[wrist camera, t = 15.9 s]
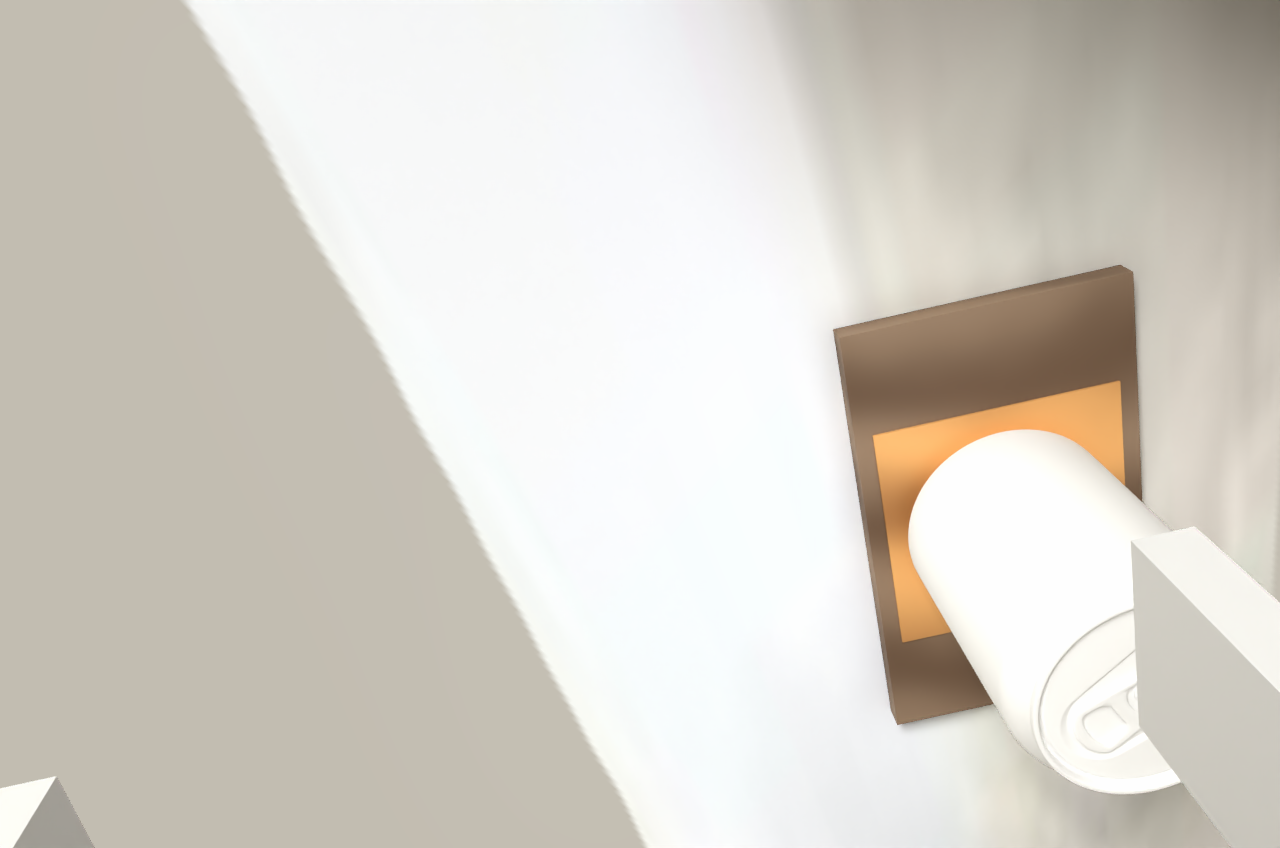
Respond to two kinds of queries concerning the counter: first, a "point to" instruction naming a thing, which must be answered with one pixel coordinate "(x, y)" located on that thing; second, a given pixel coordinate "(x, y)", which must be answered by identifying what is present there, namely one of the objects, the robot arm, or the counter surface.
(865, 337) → the label board
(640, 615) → the counter surface
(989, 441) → the beverage can
